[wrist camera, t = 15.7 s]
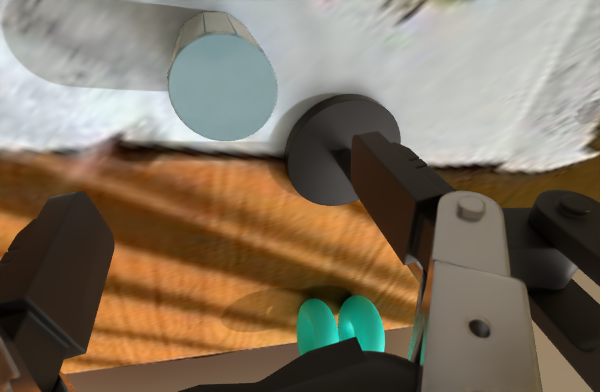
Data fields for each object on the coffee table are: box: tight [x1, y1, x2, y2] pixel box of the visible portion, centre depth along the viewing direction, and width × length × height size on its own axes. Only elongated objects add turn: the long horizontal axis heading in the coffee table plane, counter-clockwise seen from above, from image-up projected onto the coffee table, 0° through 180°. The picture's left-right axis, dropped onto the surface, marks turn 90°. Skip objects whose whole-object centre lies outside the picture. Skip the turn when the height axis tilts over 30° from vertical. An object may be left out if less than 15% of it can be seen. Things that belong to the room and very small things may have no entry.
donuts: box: [297, 295, 385, 356], centre depth 45 cm, size 10×10×10 cm
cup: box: [167, 11, 277, 141], centre depth 21 cm, size 6×6×9 cm
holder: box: [285, 94, 422, 283], centre depth 26 cm, size 12×12×17 cm
